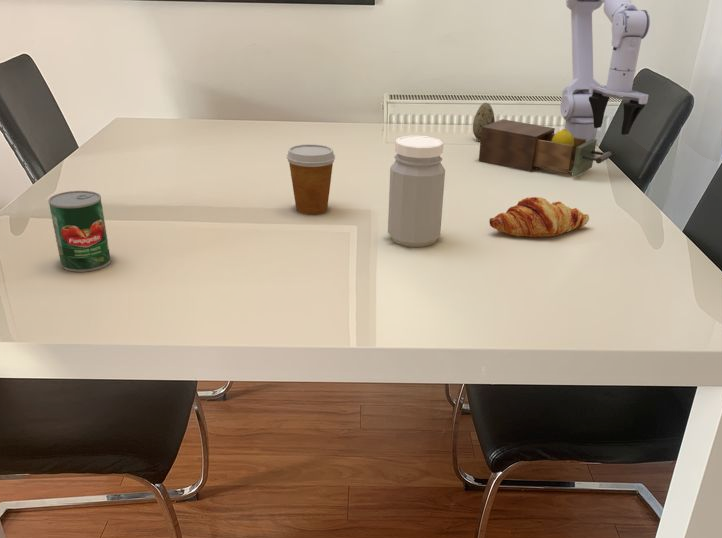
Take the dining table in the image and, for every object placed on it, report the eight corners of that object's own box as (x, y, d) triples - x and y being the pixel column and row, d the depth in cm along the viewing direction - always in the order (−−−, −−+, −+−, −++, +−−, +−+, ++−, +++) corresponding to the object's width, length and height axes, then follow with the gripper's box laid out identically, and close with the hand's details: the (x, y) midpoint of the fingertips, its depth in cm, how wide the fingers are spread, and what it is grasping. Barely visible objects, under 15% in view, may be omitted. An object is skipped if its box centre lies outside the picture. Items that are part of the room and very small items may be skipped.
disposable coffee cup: (343, 206, 155) (343, 147, 149) (320, 220, 147) (320, 158, 141) (303, 199, 158) (302, 141, 152) (279, 212, 151) (276, 151, 144)
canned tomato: (82, 275, 121) (70, 209, 115) (50, 264, 124) (36, 199, 119) (121, 260, 127) (111, 196, 121) (90, 250, 130) (78, 187, 125)
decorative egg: (472, 137, 210) (475, 99, 205) (493, 138, 209) (497, 101, 204) (471, 142, 205) (474, 104, 200) (493, 144, 204) (497, 105, 199)
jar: (403, 251, 135) (408, 150, 125) (378, 233, 142) (381, 136, 133) (449, 244, 139) (458, 145, 130) (423, 227, 146) (429, 132, 137)
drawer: (610, 171, 182) (615, 143, 179) (595, 180, 175) (601, 151, 171) (541, 157, 190) (545, 130, 187) (524, 166, 183) (528, 138, 180)
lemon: (571, 160, 185) (577, 127, 181) (570, 166, 180) (576, 132, 176) (548, 158, 186) (553, 125, 182) (547, 164, 181) (552, 130, 177)
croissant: (575, 238, 154) (572, 198, 153) (604, 231, 144) (601, 189, 143) (481, 244, 147) (477, 203, 147) (504, 237, 138) (500, 193, 137)
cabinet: (549, 162, 190) (554, 128, 186) (531, 171, 182) (536, 136, 178) (498, 152, 197) (502, 119, 193) (478, 161, 189) (481, 126, 184)
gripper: (660, 72, 168) (647, 134, 175) (605, 63, 177) (595, 122, 184) (643, 75, 164) (630, 138, 171) (587, 65, 173) (577, 126, 180)
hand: (611, 130), depth 177 cm, fingers open, 7 cm apart
